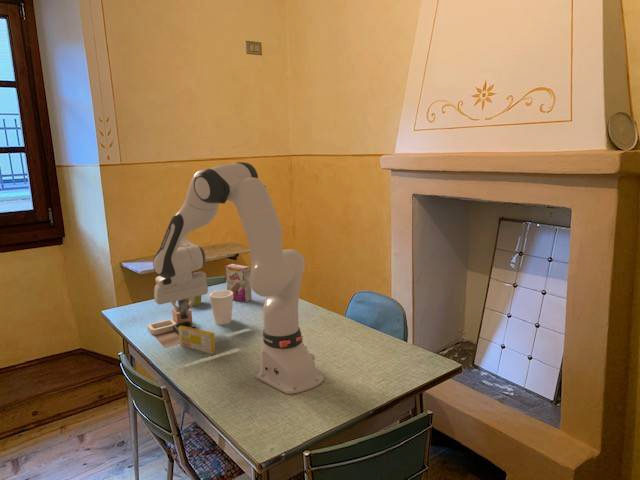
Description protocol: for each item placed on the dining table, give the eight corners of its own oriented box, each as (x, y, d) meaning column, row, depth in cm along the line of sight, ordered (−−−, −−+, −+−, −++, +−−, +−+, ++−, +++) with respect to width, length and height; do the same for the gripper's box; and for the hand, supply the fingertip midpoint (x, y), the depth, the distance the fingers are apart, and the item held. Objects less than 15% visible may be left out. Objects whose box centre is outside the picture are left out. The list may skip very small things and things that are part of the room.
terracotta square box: (192, 324, 191) (191, 310, 190) (178, 328, 188) (176, 313, 187) (187, 319, 196) (186, 306, 195) (173, 323, 193) (171, 309, 191)
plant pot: (182, 304, 218) (180, 286, 216) (202, 300, 222) (200, 283, 220) (185, 310, 210) (183, 292, 208) (206, 306, 214) (205, 288, 212)
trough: (178, 329, 187) (177, 324, 186) (152, 335, 181) (151, 330, 181) (172, 323, 193) (171, 318, 193) (147, 329, 188) (146, 324, 187)
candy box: (216, 354, 167) (214, 332, 165) (212, 356, 165) (210, 334, 163) (183, 345, 175) (181, 324, 173) (179, 347, 173) (177, 326, 171)
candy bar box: (227, 299, 223) (224, 265, 219) (234, 296, 227) (232, 263, 223) (245, 303, 217) (243, 268, 213) (252, 299, 221) (250, 266, 217)
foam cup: (237, 319, 198) (235, 290, 195) (231, 328, 189) (229, 297, 186) (215, 319, 198) (213, 290, 196) (208, 328, 189) (206, 297, 187)
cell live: (190, 317, 184) (188, 299, 182) (181, 319, 182) (179, 301, 180) (187, 314, 187) (185, 296, 185) (178, 316, 184) (176, 298, 183)
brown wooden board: (207, 338, 179) (206, 331, 179) (164, 350, 171) (164, 342, 170) (187, 321, 197) (186, 314, 196) (148, 330, 188) (147, 323, 188)
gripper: (203, 268, 189) (206, 301, 192) (150, 279, 178) (155, 313, 181) (208, 272, 184) (212, 305, 186) (155, 282, 172) (159, 318, 175)
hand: (183, 309), depth 183 cm, fingers closed on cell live, 4 cm apart
